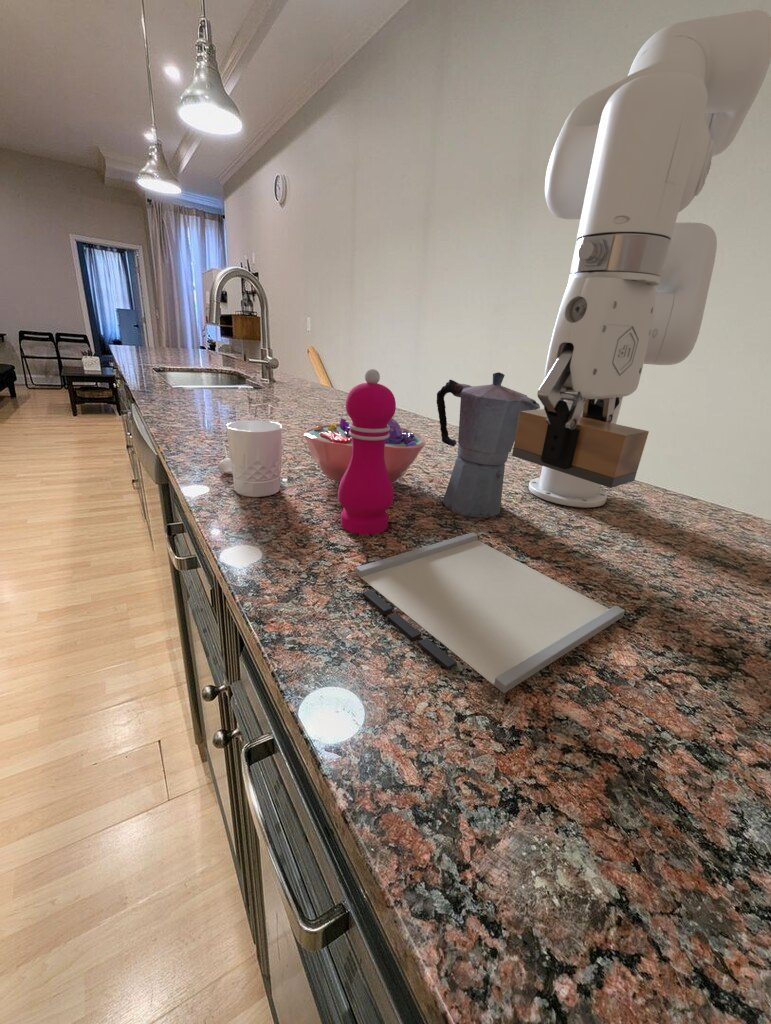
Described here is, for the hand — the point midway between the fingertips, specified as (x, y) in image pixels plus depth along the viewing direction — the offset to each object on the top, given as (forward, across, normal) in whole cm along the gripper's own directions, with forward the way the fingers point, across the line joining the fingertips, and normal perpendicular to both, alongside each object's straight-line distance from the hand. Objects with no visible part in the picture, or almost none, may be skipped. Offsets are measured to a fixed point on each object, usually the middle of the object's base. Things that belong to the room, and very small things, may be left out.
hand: (570, 460), depth 47 cm
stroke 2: (+13, -22, 0) cm, 25 cm away
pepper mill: (+13, -12, +20) cm, 27 cm away
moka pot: (+13, +6, +18) cm, 23 cm away
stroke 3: (+13, -21, -4) cm, 25 cm away
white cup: (+13, -19, +39) cm, 45 cm away
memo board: (+13, -11, 0) cm, 17 cm away
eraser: (+1, 0, 0) cm, 1 cm away
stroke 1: (+13, -21, +4) cm, 25 cm away
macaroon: (+13, -20, +48) cm, 54 cm away
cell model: (+13, -2, +35) cm, 37 cm away
